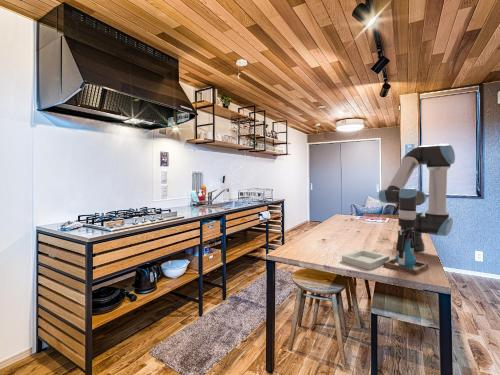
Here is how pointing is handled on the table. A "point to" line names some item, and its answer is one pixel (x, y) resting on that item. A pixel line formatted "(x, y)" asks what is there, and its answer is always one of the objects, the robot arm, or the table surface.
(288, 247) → the table surface
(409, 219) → the robot arm
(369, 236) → the table surface
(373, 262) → the tray
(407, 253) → the teal vase
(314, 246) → the table surface
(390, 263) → the frame
